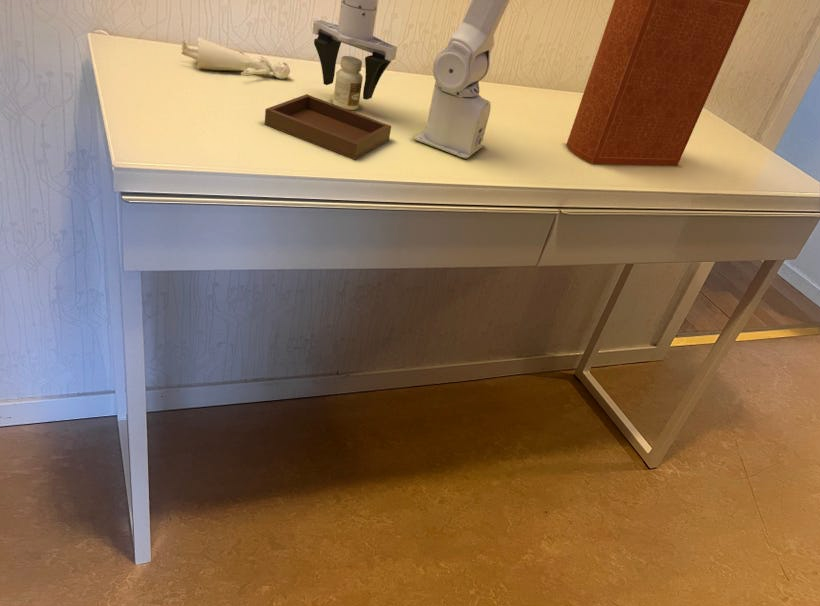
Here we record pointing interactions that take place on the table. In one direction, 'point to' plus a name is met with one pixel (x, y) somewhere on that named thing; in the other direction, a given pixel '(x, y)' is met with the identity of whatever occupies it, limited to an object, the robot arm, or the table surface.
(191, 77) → the table surface
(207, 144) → the table surface
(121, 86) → the table surface
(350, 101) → the pill bottle
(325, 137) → the tray
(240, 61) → the woman figurine
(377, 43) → the robot arm
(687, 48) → the book
